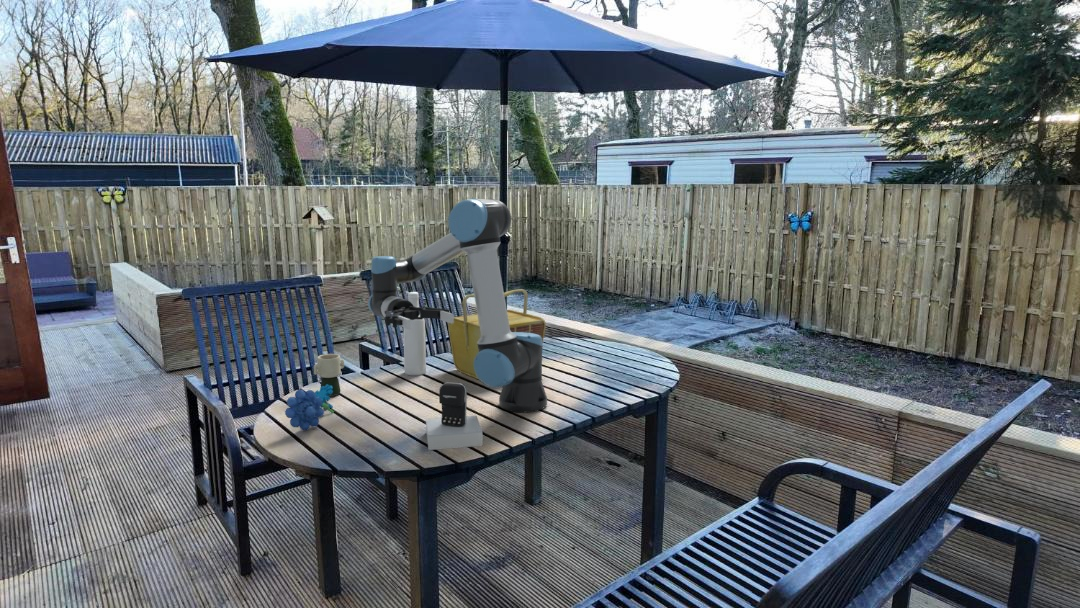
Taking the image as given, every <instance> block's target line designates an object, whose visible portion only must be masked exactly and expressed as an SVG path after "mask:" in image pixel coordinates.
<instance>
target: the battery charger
mask: <svg viewBox="0 0 1080 608" xmlns="http://www.w3.org/2000/svg"><path fill="white" fill-rule="evenodd" d="M438 398H439V404H441V418H442V420H441V421H442V424H443V425H448V426H456V427H461V426H463V425H465V424H466V416H467V403H468V401H467V400H468V399H467V398H468V397H467V387H466V386H465V384H463V383H461V382H460V383H459V382H449V381H448V382H444V383H443V384H442V385H440V387H439V397H438Z"/></svg>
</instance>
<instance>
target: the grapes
mask: <svg viewBox="0 0 1080 608" xmlns="http://www.w3.org/2000/svg"><path fill="white" fill-rule="evenodd" d="M315 392H316V391H314V390H312V389H308V390H306V391H305V390H303V389H298V390H296V392H295V393H294V396H290V397H288V398H287V400H286V401H287V402H286V404H287V406H288V407H287V408H286V409H285V410H284V415H285V417H287V418H288V419H290V420H289V424H290V426H291V427H293V428H300V430H301V431H308V430H309V429H310V427H317V426H318V425H319V424H320V419H319V418H322V417H323V416H324V414H325V410H324V409H323V408H321V407H320V406H321V405H322V404H323V402H322V399H321V398H320V397H316V395H315Z"/></svg>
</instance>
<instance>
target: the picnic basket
mask: <svg viewBox="0 0 1080 608" xmlns="http://www.w3.org/2000/svg"><path fill="white" fill-rule="evenodd" d="M514 293H523V295H524V296H523V297H524V298H523V310H522V311H517V310H514V309H507V314H508V320H509V326H510V331H511V332H525V333H533V334H538V335H540V336H541V338H542V345H544V338H545V333H546V327H547V323H546V321H545V319H544V318H543V317H541V316H538V315H534V314H531V313H530V314H529V313H527V312H528V299H529V297H528V296H529V295H528V292H527V290H525V289H524V288H523V289H513V290H508V291H505V292H504V297H505V298H506V297H509V296H510V295H512V294H514ZM469 298H475V297H474V293H472V294H467V295H465V296H464V297H463V299H462V303H461V304H462V305H461V306H462V315H461V316H454V323H452V324H451V323H448V322H447V328H448V334H449V341H450V348H451V353H452V359H453V360H452V361H453V364H454V367H455V368H456V370H457V371H458V372H460V373H462V374H465V375H467V376H470V377H471V378H474V379H477V380H480V379H479V378H478V377H477V375H476V373H475V370H474V359H475V358H476V355H477V354H478V353H479V350H478V345H477V342H478V340H479V339H480V337H481V331H480V325H479V320H478V314H477V313H476V314H469V315H468V314H467V313H468V311H467V300H468V299H469Z"/></svg>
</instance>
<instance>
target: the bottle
mask: <svg viewBox="0 0 1080 608" xmlns="http://www.w3.org/2000/svg"><path fill="white" fill-rule="evenodd" d="M419 299H420V295H419V292H418V291H410V292H408V293H407V300H408V301H410V302H411V303H412V304H413V306H415V307H419V303H420V301H419ZM418 317H420V315H419V316H418ZM410 325H411V329H406V328H403V327H402V328H403V354H404V355H403V358H404V361H403V362H404V365H403V367H404V374H405V375H407V376H422V375H425V374H426V373H427V361H426V359H427V356H426V355H427V354H426V352H427V351H426V320H425V318H423V319H414V320H411V321H410Z"/></svg>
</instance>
